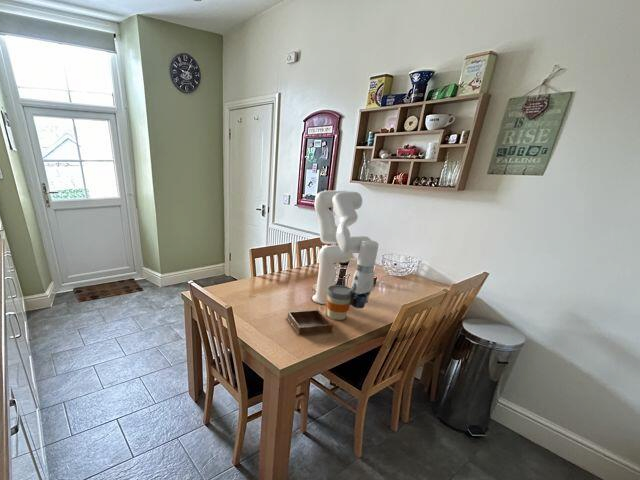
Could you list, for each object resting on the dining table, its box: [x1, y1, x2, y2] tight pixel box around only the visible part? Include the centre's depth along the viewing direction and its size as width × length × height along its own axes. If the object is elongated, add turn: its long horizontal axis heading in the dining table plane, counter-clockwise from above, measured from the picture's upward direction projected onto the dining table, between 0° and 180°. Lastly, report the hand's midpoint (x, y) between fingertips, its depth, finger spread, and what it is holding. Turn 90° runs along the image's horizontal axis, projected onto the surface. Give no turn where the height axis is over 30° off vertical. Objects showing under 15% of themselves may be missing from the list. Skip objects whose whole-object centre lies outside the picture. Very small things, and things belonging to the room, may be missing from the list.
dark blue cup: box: [352, 293, 369, 309], centre depth 154 cm, size 7×7×6 cm
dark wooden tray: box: [287, 309, 333, 335], centre depth 159 cm, size 16×16×4 cm
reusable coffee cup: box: [326, 284, 351, 321], centre depth 166 cm, size 13×13×15 cm
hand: (358, 303), depth 155 cm, fingers closed on dark blue cup, 7 cm apart
